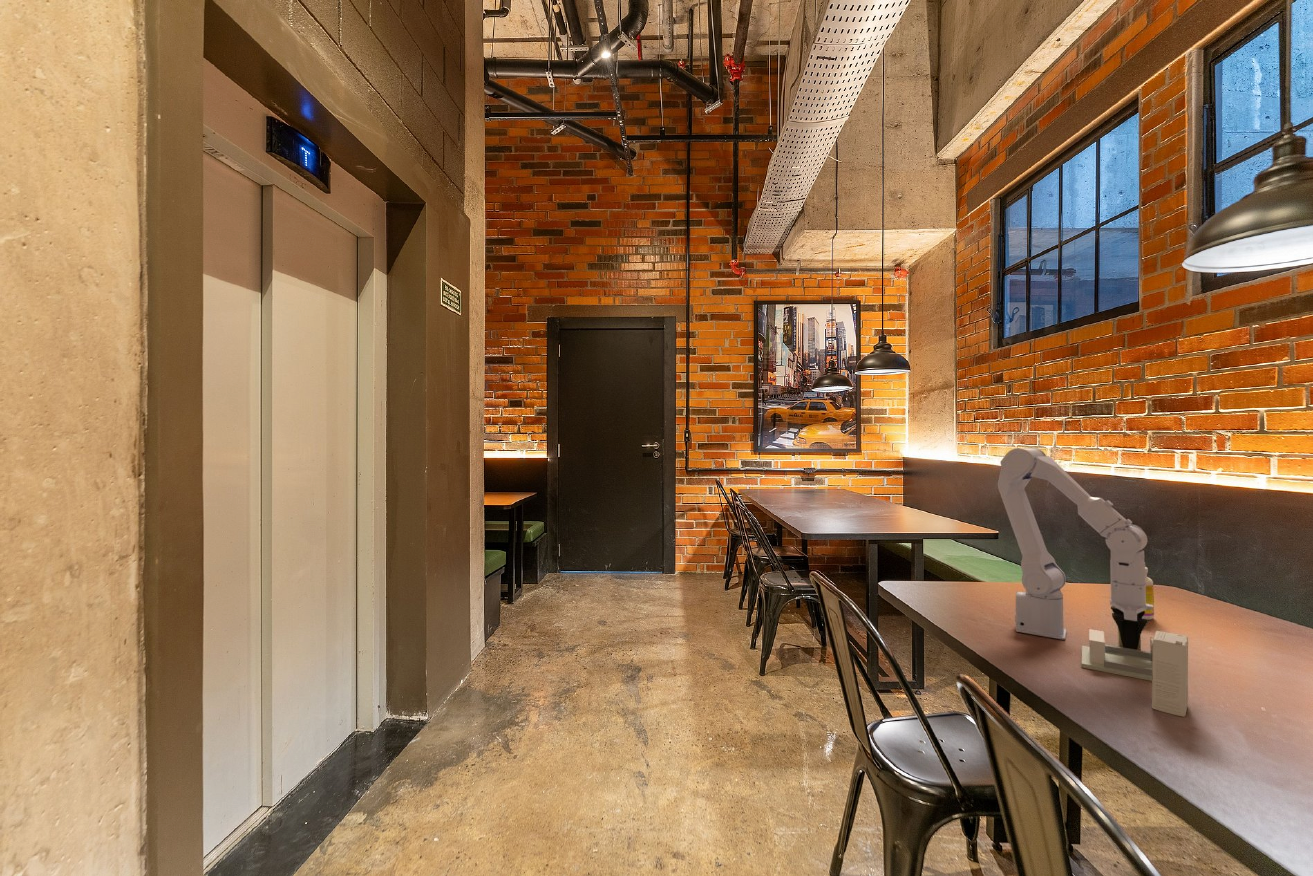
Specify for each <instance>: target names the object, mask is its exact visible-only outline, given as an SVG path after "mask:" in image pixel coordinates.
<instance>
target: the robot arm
mask: <svg viewBox="0 0 1313 876" xmlns="http://www.w3.org/2000/svg"><path fill="white" fill-rule="evenodd" d="M999 462H1000V467H1001V468H1000V472H999V476H998V480H997V488H998V492H999V494H1000V497H1001V500H1002V503H1003V505H1004V509H1005V511H1006V514H1007V516H1008V519H1009V523H1010V526H1011V528H1012V531H1013V533H1014V536H1015V539H1016V542H1017V545H1018V547H1019V550H1020V552H1021V556H1022V559H1021V563H1020V568H1021V571H1022V574H1021V575H1022V576H1021V584H1022V587H1023V588H1024V590H1025V591H1016V594H1015V615H1014V622H1015V632H1016V633H1017V632H1018V633H1022V634H1029V635H1032V636H1033V635H1034V636H1040V637H1046V638H1051V639H1058V640H1063V641H1064V640H1066V637H1067V629H1066V628H1064V594H1063V593H1062V590H1061V589H1062V588H1064V586H1065V585H1066V582H1067V577H1066V573H1065V572H1064V571H1063V570H1062V569H1061V568H1060V567H1059V565H1057V562H1056V559H1055V558H1054V557H1053V556H1052V555H1051V554H1050V552H1049V551H1048V549H1047V547H1046V544H1045V542H1044V539H1043V536H1042V534H1041V530H1040V528H1039V527H1040V526H1038V522H1037V520H1036V518H1035V514H1034V511H1033V509H1032V507H1031V504H1030V501H1029V498H1028V495H1027V492H1026V490H1025V488H1026V487H1027V485H1028V484H1029V482H1030V481H1031V479H1033V478H1036V479H1041V480H1046V481H1048V482H1049V483H1050V484H1051V485H1052V486H1054V487H1055V488H1056V489H1057V490H1058V491H1060V493H1062V494H1063V495H1064V496H1066V497H1067V499H1069V500H1070V501H1071V502H1073V503H1074V504H1075V505H1076V506H1077V515H1079V516H1080V517H1081V518H1082V519H1083V520H1084V521H1085V522H1086V523H1087V524H1088V525H1089V526H1090V527H1092V528H1093V529H1094V531H1096V532H1097V533H1098V534H1099V535H1100V536H1101V537H1104V538H1105V544H1106V546H1107V547H1108V549H1109V550H1110V560H1109V563H1110V565H1109V567H1110V574H1109V575H1110V600H1109V604H1110V605H1111V606H1110V609H1111V611H1112V613H1111V617H1112V618H1113V620H1114V622H1115V624H1116V626H1117V630H1118V629H1119V632H1120V637H1121V641H1122V645H1123V648H1129V649H1135V650H1137V648H1138V644H1139V640H1140V635H1141V634H1142V632H1143V631H1144V629H1145V628H1146V627H1147V626H1146V625H1147V624H1148V620H1147V619H1141V618H1142V617H1143V615H1144V614H1145V611H1144V610H1147V609H1149V610H1153V609H1154V610H1155V605H1154V606H1153V605H1151V604H1146V580H1145V567H1146V562H1145V550H1143V549H1144V548H1146V546H1147V544H1148V536H1147V534H1146V533H1145V531H1144V530H1143V528H1141V527H1140V526H1139V525H1136V524H1133V521H1132V520H1131V519H1129V518H1127V519H1126V518H1125V517H1124V516H1123V515H1122V514H1120V512H1118V511H1117V510H1116V509H1114V508H1113V507H1112V506H1114V504H1113V502H1111V501H1110V500H1108V499H1107V500H1104V498H1102V497H1096V496H1095V497H1093V496H1091V495H1090V494H1089V493H1088V492H1087V491H1086V490H1085V489H1084V488H1083V487H1082V486H1081V485H1080V484H1079V483H1078V482H1076V480H1075V479H1074V478H1072V477H1071V475H1069V474H1068V472H1067V471H1065V469H1063V468H1062V467H1061V466H1060V464H1058V463H1057V461H1055V460H1054V459H1053V458H1052V457H1050V456H1049V455H1046V452H1044V451H1043V450H1041V449H1039V448H1036V447H1028V448H1021V447H1020V448H1019V447H1018V448H1017V447H1016V448H1013V449H1011V450H1009V451H1008V452H1007V453H1006V454H1005V455H1004V457H1003V458H1002V459H1001V460H1000V461H999Z"/></svg>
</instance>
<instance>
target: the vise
mask: <svg viewBox="0 0 1313 876" xmlns="http://www.w3.org/2000/svg"><path fill="white" fill-rule="evenodd" d="M1088 630H1089V631H1088V632H1089V633H1088V639H1089V640H1088V641H1089V646H1086V645H1081V668H1084V669H1089V670H1093V671H1099V672H1103V673H1109V674H1114V675H1118V676H1125V677H1130V678H1135V679H1141V680H1146V681H1151V682H1152V662H1151V653H1150V651H1146V650H1142V649H1141V650H1135V649H1129V648H1123V647H1118V645H1117V646H1115V645H1110V644H1106V640H1105V631H1103V630H1096V629H1091V628H1090V629H1088Z"/></svg>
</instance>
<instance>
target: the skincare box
mask: <svg viewBox="0 0 1313 876" xmlns="http://www.w3.org/2000/svg"><path fill="white" fill-rule="evenodd" d="M1153 638H1154V639H1153V656H1152V681H1151V708H1152V709H1153V710H1156V711H1159V712H1163V713H1167V714H1169V715H1173V716H1178V717H1183V718H1185V717H1186V713H1187V709H1188V705H1189V704H1188V703H1189V672H1188V671H1189V637H1188V636H1187V635H1183V634H1177V633H1171V632H1167V631H1166V632H1165V631H1159V630H1156V631H1155V633H1154V636H1153Z"/></svg>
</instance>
